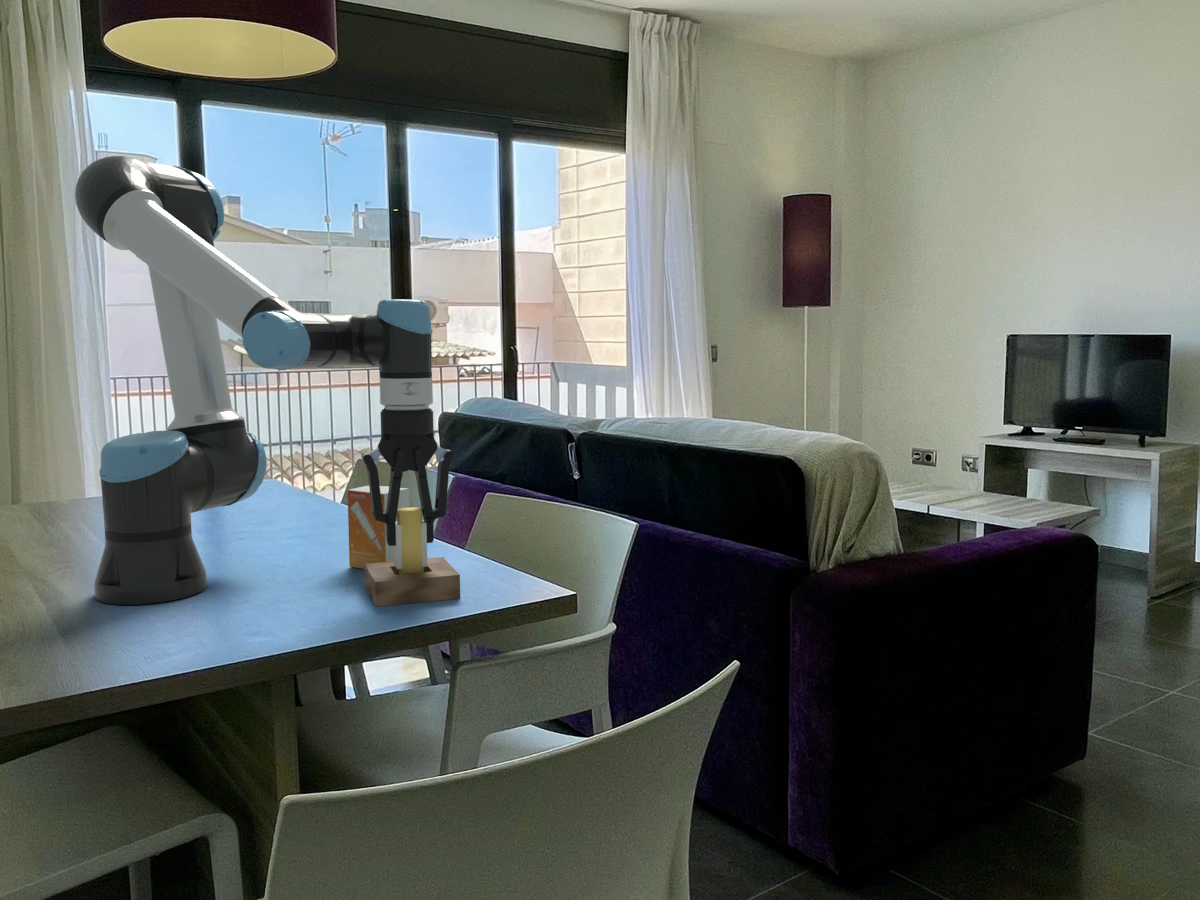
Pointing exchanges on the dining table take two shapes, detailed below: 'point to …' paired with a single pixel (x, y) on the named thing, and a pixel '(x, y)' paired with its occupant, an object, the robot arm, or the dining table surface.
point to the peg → (411, 539)
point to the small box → (369, 527)
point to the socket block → (411, 583)
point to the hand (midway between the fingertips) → (410, 565)
